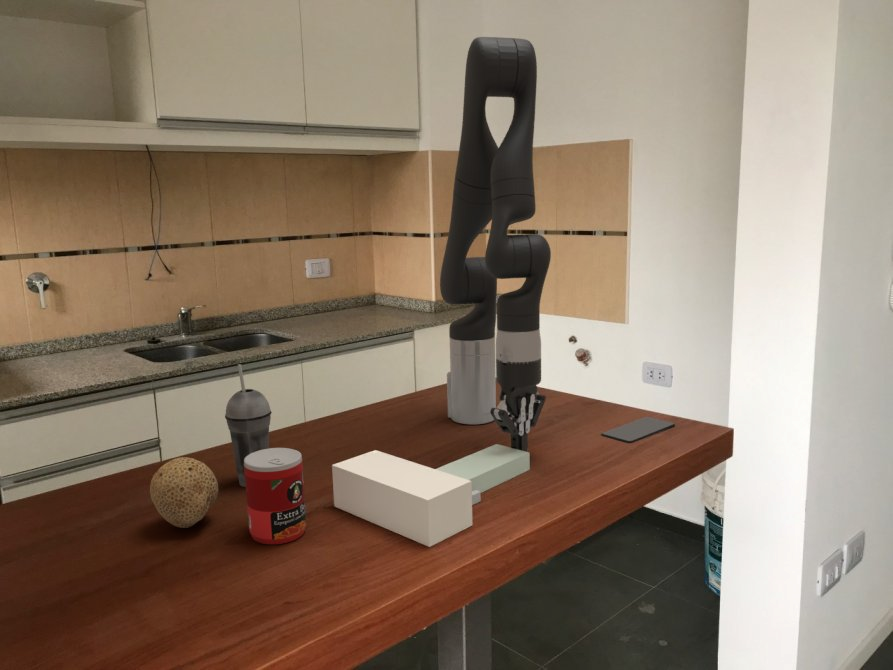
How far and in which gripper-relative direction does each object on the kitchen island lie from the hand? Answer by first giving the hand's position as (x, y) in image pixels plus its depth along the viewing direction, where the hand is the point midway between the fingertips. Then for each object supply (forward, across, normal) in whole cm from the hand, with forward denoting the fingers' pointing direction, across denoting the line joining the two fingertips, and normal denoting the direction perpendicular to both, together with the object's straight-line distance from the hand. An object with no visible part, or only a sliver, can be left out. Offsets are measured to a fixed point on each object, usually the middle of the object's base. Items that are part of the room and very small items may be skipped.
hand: (519, 454), depth 125 cm
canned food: (+2, +42, -10) cm, 43 cm away
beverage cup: (+2, +34, -28) cm, 44 cm away
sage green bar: (+2, +10, 0) cm, 10 cm away
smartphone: (+2, -28, +7) cm, 29 cm away
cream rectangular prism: (+1, +24, 0) cm, 24 cm away
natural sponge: (+2, +49, -22) cm, 54 cm away
